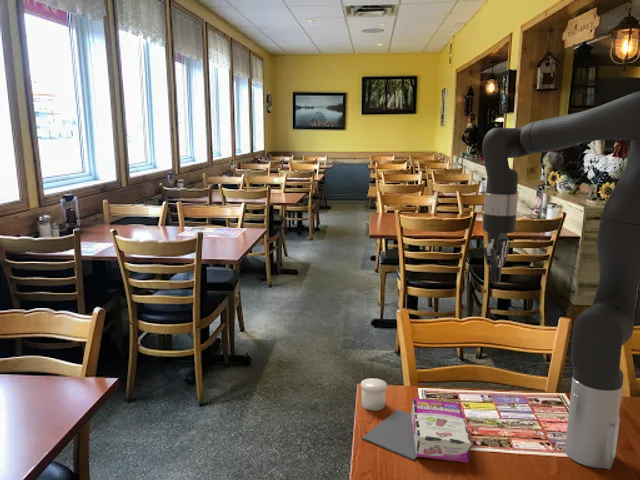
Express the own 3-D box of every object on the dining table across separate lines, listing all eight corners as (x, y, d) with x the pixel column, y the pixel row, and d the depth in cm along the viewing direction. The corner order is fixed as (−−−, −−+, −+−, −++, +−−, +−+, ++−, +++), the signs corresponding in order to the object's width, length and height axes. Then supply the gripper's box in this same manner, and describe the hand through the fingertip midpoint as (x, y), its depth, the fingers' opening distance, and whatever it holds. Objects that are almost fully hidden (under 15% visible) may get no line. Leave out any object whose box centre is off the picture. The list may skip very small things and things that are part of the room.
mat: (446, 428, 122) (446, 426, 122) (413, 460, 109) (414, 458, 109) (397, 410, 129) (397, 409, 129) (362, 439, 117) (362, 437, 117)
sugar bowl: (391, 403, 133) (391, 383, 132) (377, 413, 128) (378, 392, 127) (369, 395, 137) (369, 376, 136) (355, 405, 132) (355, 385, 131)
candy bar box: (410, 416, 125) (414, 457, 110) (412, 397, 124) (417, 435, 108) (457, 421, 124) (468, 464, 108) (460, 402, 123) (471, 442, 107)
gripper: (506, 216, 118) (500, 289, 122) (524, 210, 129) (518, 278, 132) (474, 213, 123) (470, 284, 126) (494, 208, 133) (489, 274, 136)
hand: (495, 281), depth 129 cm, fingers closed
